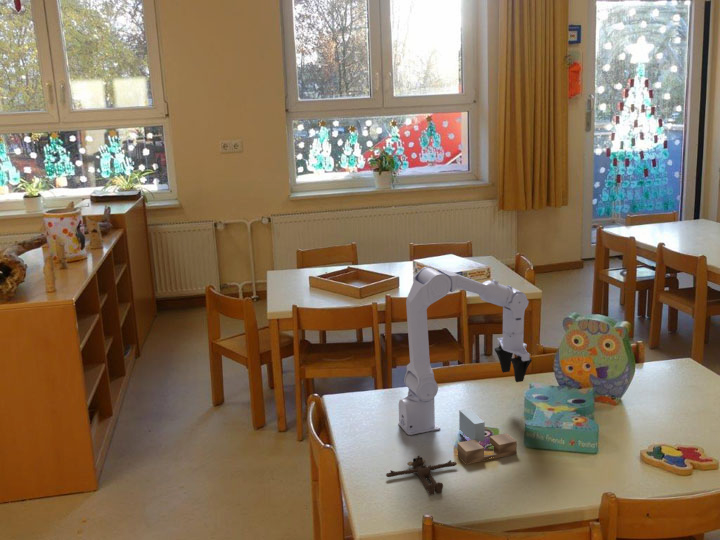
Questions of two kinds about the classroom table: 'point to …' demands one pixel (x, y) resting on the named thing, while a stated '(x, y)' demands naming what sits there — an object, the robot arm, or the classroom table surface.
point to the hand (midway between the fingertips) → (512, 376)
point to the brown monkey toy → (424, 473)
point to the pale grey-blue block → (471, 425)
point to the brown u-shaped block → (475, 451)
